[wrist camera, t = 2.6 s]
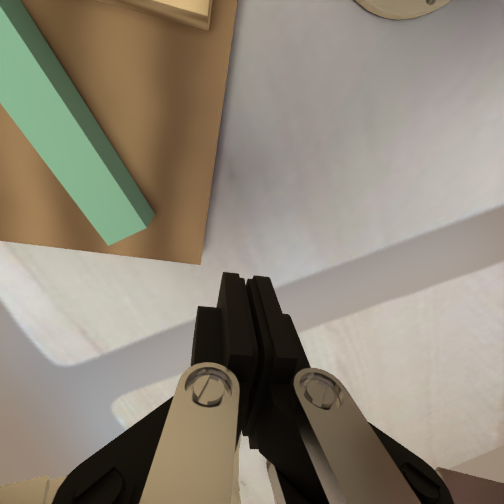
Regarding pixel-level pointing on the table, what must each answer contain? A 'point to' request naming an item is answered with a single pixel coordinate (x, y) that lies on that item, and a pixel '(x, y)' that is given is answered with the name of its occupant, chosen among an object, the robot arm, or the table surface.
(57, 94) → the folding leg
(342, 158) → the table surface
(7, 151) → the stool seat
